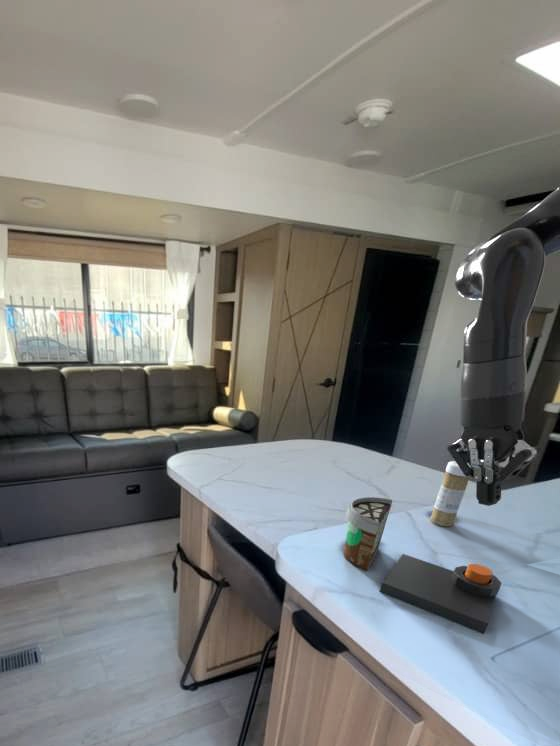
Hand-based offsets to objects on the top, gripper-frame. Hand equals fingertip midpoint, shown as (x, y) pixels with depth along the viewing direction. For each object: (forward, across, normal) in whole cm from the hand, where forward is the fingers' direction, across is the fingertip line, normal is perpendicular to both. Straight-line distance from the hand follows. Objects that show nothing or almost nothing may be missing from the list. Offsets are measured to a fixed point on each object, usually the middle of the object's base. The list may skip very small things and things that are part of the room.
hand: (487, 503), depth 64 cm
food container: (+9, +12, +15) cm, 22 cm away
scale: (+12, -1, +11) cm, 16 cm away
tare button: (+10, -3, +5) cm, 12 cm away
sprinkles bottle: (+12, +19, -12) cm, 26 cm away
